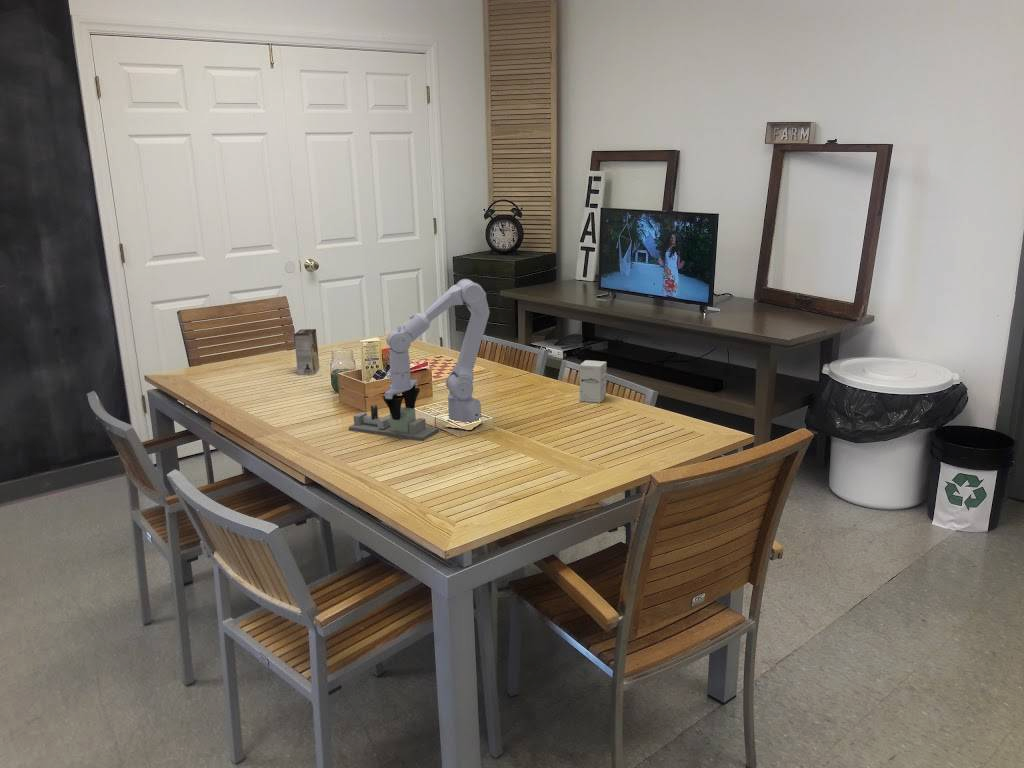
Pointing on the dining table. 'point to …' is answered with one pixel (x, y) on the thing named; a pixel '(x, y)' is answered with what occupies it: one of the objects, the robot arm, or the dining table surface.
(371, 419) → the ram
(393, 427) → the block
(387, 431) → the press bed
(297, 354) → the coffee box
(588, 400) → the supplement box
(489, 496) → the dining table surface
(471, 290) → the robot arm
